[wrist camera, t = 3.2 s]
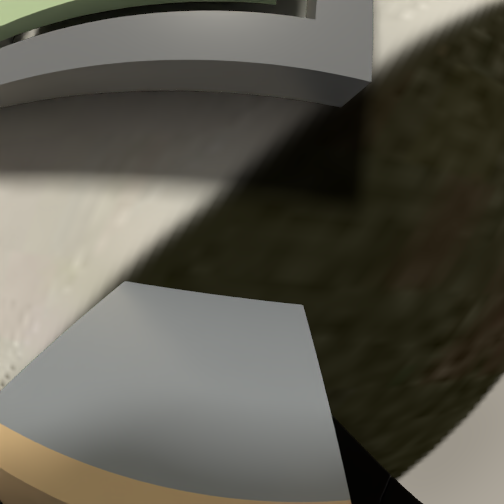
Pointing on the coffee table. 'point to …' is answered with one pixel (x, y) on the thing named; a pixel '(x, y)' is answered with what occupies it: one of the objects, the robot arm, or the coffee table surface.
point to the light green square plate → (67, 11)
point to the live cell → (173, 407)
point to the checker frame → (199, 55)
